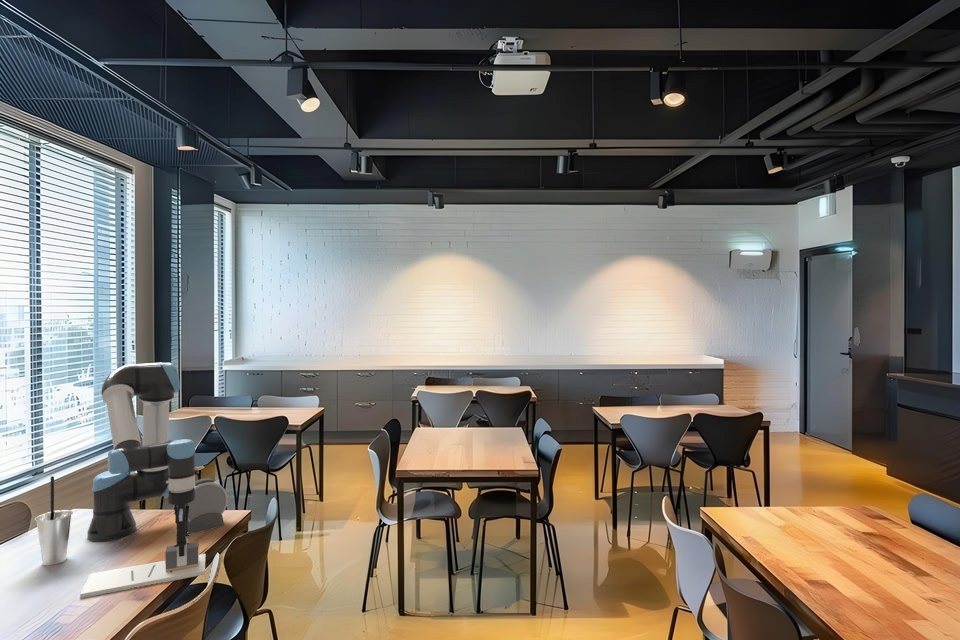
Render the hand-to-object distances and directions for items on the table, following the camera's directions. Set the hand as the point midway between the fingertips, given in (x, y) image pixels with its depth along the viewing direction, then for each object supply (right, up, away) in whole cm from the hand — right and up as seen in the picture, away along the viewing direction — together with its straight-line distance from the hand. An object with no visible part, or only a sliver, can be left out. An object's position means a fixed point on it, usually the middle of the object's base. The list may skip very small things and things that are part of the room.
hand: (182, 561), depth 173 cm
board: (-9, -3, -4) cm, 10 cm away
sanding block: (0, -1, 0) cm, 1 cm away
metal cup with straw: (-46, -3, +7) cm, 47 cm away
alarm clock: (-12, -3, +37) cm, 38 cm away
